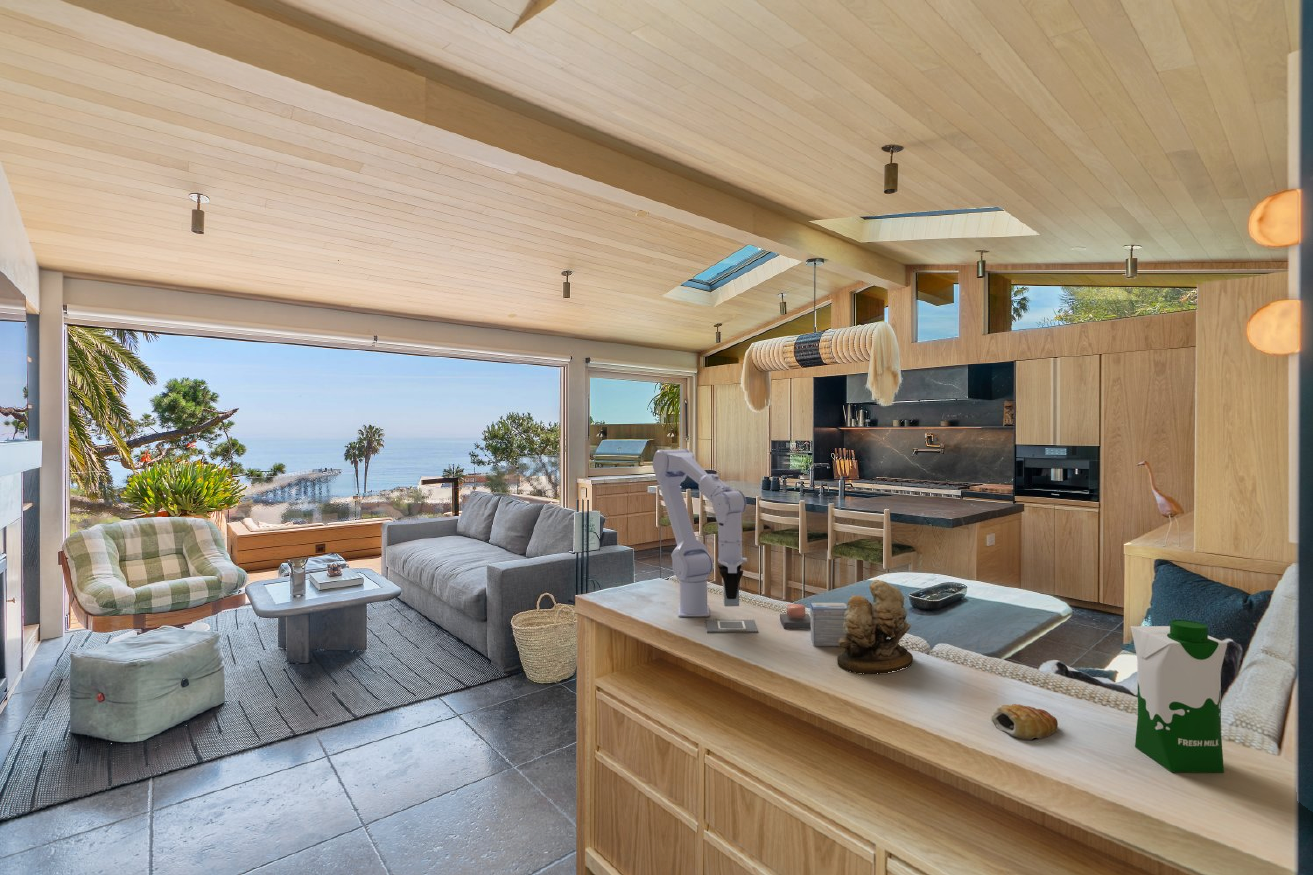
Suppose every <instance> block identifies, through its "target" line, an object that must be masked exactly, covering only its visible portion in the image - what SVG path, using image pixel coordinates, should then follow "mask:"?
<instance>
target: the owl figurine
mask: <svg viewBox="0 0 1313 875" xmlns="http://www.w3.org/2000/svg"><path fill="white" fill-rule="evenodd" d="M869 590H870V593H871V595H872V599H873V603H871V602H870V601H869V600H868V599H867V598H866V597H864V596H862V595H858V594H855V595H852V596H850V598H849V599H848V602H847V604H846V605H847V608H846V609H847V611H846V612H845V614H844V623H843V632H844V634H845V635H846V637H844V638H839V641H838V645H839V646H838V647H840V648H842V649H843V651H842V653H840V654H839V655H838V656H837V659H836V660H837V665H838V667H839V668H840V669H843V670H844V669H845V670H844V671H847V670H848V671H847V672H849V671H851V672H850V673H854V672H856V673H855V674H857V673H862V674H861V675H865V674H877V673H878V674H877V675H881V674H880V673H888V672H892V671H897V670H900V669H902V668H906V667H908V666H909V665H910V666H912V664H913V662H914V656H913V654H912V653H911V652H910V651H908V649H907V648H906V647H904V646H902V645H900V644H899V643H900V641H901V639H903V638H904V636H905V635H906V634H907V632H908V631H909V630H910V629H911V626H912V625H911V624H910V623H909V622H907V616H908V612H907V610H906V608H905V607H904V605H905V596H904V595H903V593H902V591H901V590H900V588H898V587H896V586H893V585H890V584H889V583H887V582H886V581H884V580H880V579H874V580H872V581H871V583H870V584H869ZM910 666H909V667H910ZM909 667H908V668H909ZM906 669H907V668H906ZM897 672H898V671H897ZM863 673H864V674H863ZM888 674H889V673H888Z"/></svg>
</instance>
